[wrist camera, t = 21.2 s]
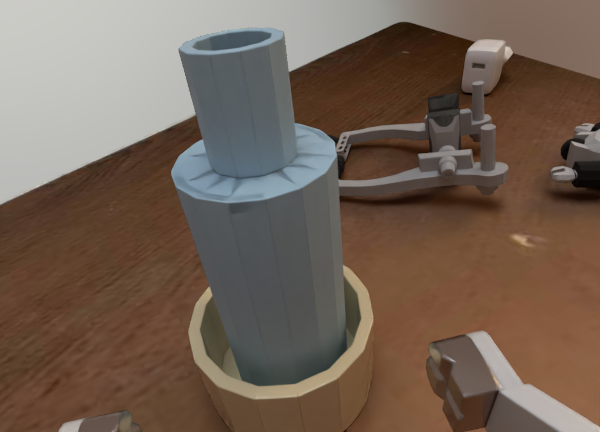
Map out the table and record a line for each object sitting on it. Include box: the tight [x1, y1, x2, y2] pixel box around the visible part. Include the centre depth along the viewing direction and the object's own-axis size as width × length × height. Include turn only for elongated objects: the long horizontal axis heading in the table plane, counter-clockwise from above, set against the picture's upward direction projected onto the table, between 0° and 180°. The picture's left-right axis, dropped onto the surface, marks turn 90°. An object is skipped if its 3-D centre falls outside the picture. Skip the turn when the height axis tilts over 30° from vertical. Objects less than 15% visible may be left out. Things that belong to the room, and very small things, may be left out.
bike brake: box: [327, 81, 508, 196], centre depth 37 cm, size 14×7×20 cm
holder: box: [188, 265, 374, 432], centre depth 21 cm, size 9×9×5 cm
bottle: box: [171, 28, 347, 386], centre depth 17 cm, size 6×6×17 cm
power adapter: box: [462, 39, 513, 94], centre depth 54 cm, size 11×5×6 cm, turn 146°
